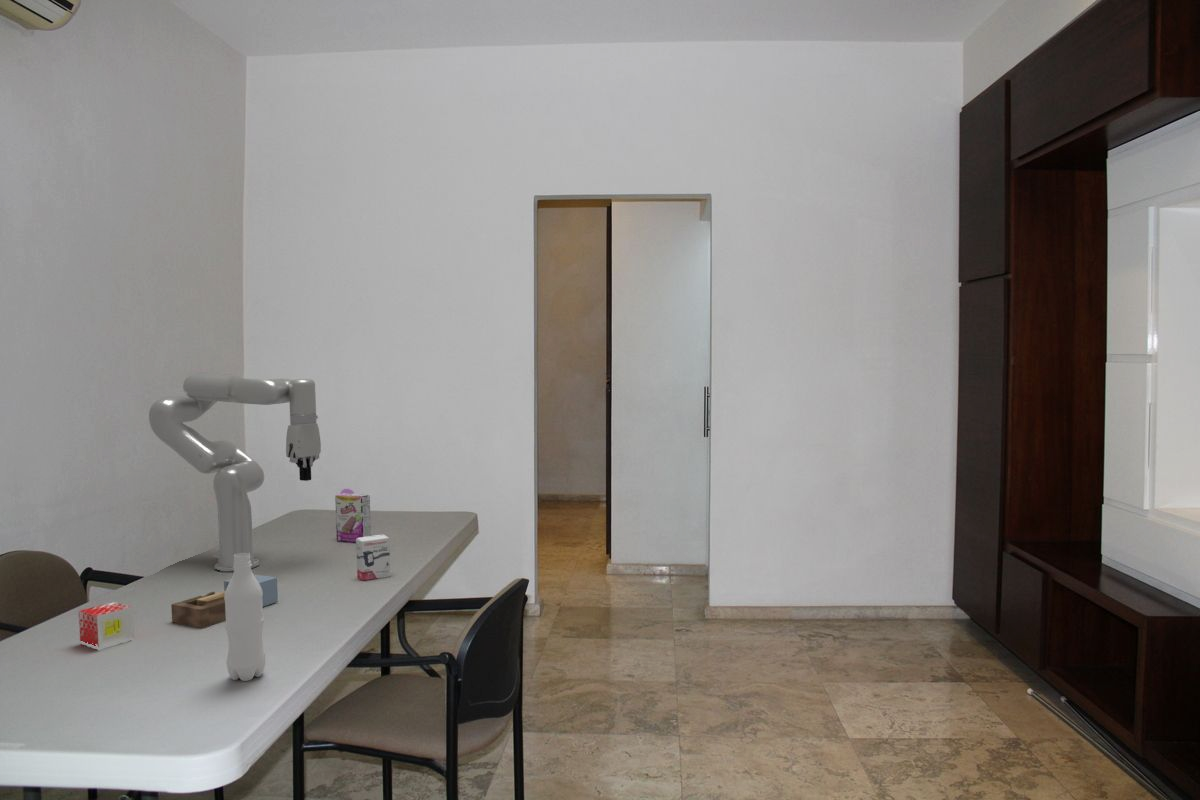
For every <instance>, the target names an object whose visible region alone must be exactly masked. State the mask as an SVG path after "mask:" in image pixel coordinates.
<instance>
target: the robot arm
mask: <svg viewBox="0 0 1200 800" xmlns="http://www.w3.org/2000/svg"><path fill="white" fill-rule="evenodd" d="M182 389H183V391H184V393H185V394H184V395H173V396H166V397H160V398H159V399H157V400H155V401H154V402H153V403H152V405H151V406H150V409H149V412H148V421H149V425H150V428H151V430H152V432H153V433H154V435H155V436H156V437H157V438H158V439H159V440H161V441H162V442H163V443H164V444H165V445H167V446H168V447H169V448H170V449H172V450H173V451H174V452H176V454H178V455H179V456H180V457H181V458H182V459H183V460H185V461H186V462H187V463H189V465H190V466H192V467H193V468H194V469H196V470H197V471H198V472H200V473H201V474H205V475H207V474H208V475H209V474H214V473H216V474H215V475H214V476H213V484H212V485H213V486H212V487H213V490H214V495H215V499H216V509H217V523H218V524H217V525H218V545H219V546H218V547H219V550H218V552H217V553H215V554H213V558H214V559H217V561H218V562H217V563H216V564H215V565H214V570H215V569H217V570H220V571H219V572H234V568H233V565H234V564H233V563H234V555H235V554H239V553H249V554H250V561H251V564H252V566H251V569H253V568H256V567H258V566H259V565H260V561H259V559H257V558H254V545H253V544H254V538H253V515H252V505H251V501H250V498H249V496H248V493H250V492H253V491H255V490H257V489H259V488H260V487H261V486H262V485H263V483H264V481H265V473H264V471H263V468H262V467H261V466H260V465H259V464H258V462H256V461H255V460H254V459H253V458H252V457H251V456H249V455H248V454H247V453H245V452H244V451H243V450H242V449H241V448H240V447H238V446H237V445H236V444H234V443H232V442H229V441H227V440H216V441H211V440H209V439H207V438H205V436H203V435H201V434H200V433H199V431H197V430H196V429H194V428H192V427H190V426H189V425H186V424H184V423H190V422H194V421H195V420H198V419H199V418H200V417H202V416H203V415H204V414H205V413H206V412H207V411H208V410H210V409H211V408H212V407H214V406H215V404H216V403H217V402H223V403H233V404H245V405H247V404H248V405H260V406H263V405H264V406H269V405H272V406H273V405H277V404H278V405H280V404H286V403H289V422H290V423H289V425H287V431H286V436H285V454H286V457H287V458H289V463H293V464H296V466H297V468H298V469H299V471H298V472H299V480H300V481H305V482H308V481H311V480H312V467H313V465H314V464H313V463H314V462H315V461H317V460H319V459H320V455H321V452H322V444H321V443H322V442H321V434H320V428H319V425H318V423H317V420H318V419H319V418H318V415H317V404H316V403H317V402H316V399H317V398H316V382H315V380H313V379H310V378H307V379H306V378H300V379H289V378H270V379H269V378H268V379H259V378H257V379H255V378H243V377H241V376H240V375H238V374H228V373H219V372H215V371H208V372H194V373H192V374H189V375H188V376H187V377H186V378H185V379H184V381H183V383H182ZM217 570H216V571H217Z"/></svg>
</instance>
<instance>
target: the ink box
mask: <svg viewBox="0 0 1200 800" xmlns="http://www.w3.org/2000/svg"><path fill="white" fill-rule="evenodd" d="M355 544H356V546H355V547H356V549H355V550H356V551H355V552H356V570H357V571H356V574H357V579H359V580H360V581H362V582H365V581H364V580H366V581H370V579H372V580H377V578H378V579H383V577H384V578H389V577H391V553H390V552H391V550H390V549H391V548H390V547H391V546H390V537H388V536H387V535H386V534H375V535H371V536H367V537H360V538H357V539H356V543H355Z"/></svg>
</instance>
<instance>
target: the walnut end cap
mask: <svg viewBox="0 0 1200 800" xmlns="http://www.w3.org/2000/svg"><path fill="white" fill-rule="evenodd" d="M214 594H216V592H215V591H210V592H208V593H207V594H205V595H204V596H202V595H197V596H195V597H191V598H188V599H185V600H182V601H181V600H180V601H178V602H175V603H171V605H170V606H171V622H172V623H173V622H175V623H174V624H178V623H179V625H185V626H188V625H189V626H188V627H193V626H195V628H198V627H200V628H199V629H205V628H207V626H208V627H211V626H213V625H216V624H219V623H222V622H226V612H225V600H220V601H217V602H214V603H211V604H208V605H204V606H197V599H200V598H203V597H207V596H210V595H214ZM218 622H219V623H218ZM215 623H216V624H215ZM204 627H205V628H204Z"/></svg>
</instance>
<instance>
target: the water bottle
mask: <svg viewBox="0 0 1200 800" xmlns="http://www.w3.org/2000/svg"><path fill="white" fill-rule="evenodd" d="M233 564H234V565H233V568H234V571H233V572H232V573H233V574H232V577H231V578H230V579H231V580H230V582H229V584H228V586H227V589H226V591H225V595H224V600H225V612H226V620H225V621H224V624H225V626H224V627H225V630H226V634H227V639H228V640H227V642H228V652H227V657H226V668H227V673H228V675H229V677H230V678H231V680H233V681H238V680H239V679H240V680H241V681H242V682H249V681H251V680H253V678H254V676H255V677H256V678H259V677H261V676H262V674H263V673H264V671H265V667H266V653H265V648H264V644H263V628H264V622H265V618H264V611H263V609H264V607H263V603H262V596H263V592H262V588H261V586H260V584H259V583H258V581H257V579H256V578H255V576H254V575H253V574H254V573H253V571H252V568H251V566H252V564H251V561H250V554H249V553H239V554H235V555H234V563H233Z"/></svg>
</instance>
